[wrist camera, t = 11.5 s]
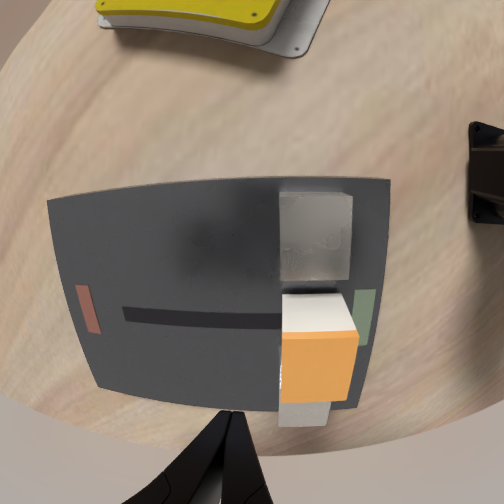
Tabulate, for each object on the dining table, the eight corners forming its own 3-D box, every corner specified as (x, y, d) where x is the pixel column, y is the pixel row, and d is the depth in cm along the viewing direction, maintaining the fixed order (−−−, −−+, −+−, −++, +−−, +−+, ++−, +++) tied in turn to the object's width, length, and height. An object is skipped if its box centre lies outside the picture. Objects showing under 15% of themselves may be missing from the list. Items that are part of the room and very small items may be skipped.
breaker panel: (377, 177, 14) (407, 182, 10) (352, 389, 18) (361, 428, 15) (65, 196, 16) (25, 205, 12) (108, 373, 21) (87, 402, 17)
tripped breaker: (341, 293, 14) (359, 336, 10) (334, 350, 15) (346, 400, 11) (282, 294, 14) (281, 339, 10) (281, 351, 15) (280, 402, 11)
